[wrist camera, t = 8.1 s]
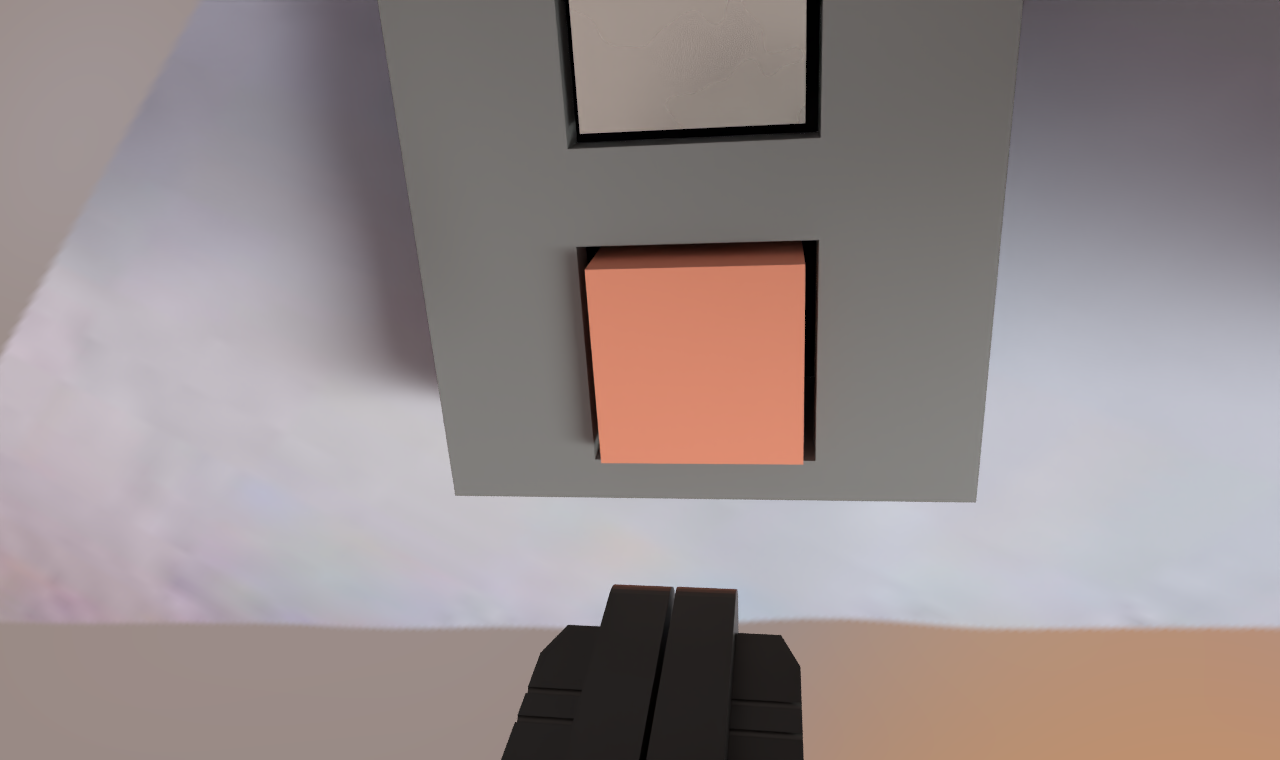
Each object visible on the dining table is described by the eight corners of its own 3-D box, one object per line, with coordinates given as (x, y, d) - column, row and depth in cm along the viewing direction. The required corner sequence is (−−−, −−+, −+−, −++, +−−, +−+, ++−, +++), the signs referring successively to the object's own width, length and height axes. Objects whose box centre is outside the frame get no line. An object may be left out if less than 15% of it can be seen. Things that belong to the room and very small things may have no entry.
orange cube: (797, 216, 21) (805, 264, 17) (796, 383, 23) (802, 464, 19) (618, 221, 22) (584, 269, 18) (629, 384, 24) (601, 463, 20)
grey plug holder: (979, -188, 19) (1047, -253, 14) (935, 409, 24) (975, 502, 20) (441, -138, 21) (349, -181, 16) (510, 410, 26) (455, 495, 21)
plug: (799, -108, 19) (807, -141, 15) (797, 101, 21) (805, 123, 17) (601, -91, 20) (558, -119, 16) (615, 111, 22) (580, 133, 18)
